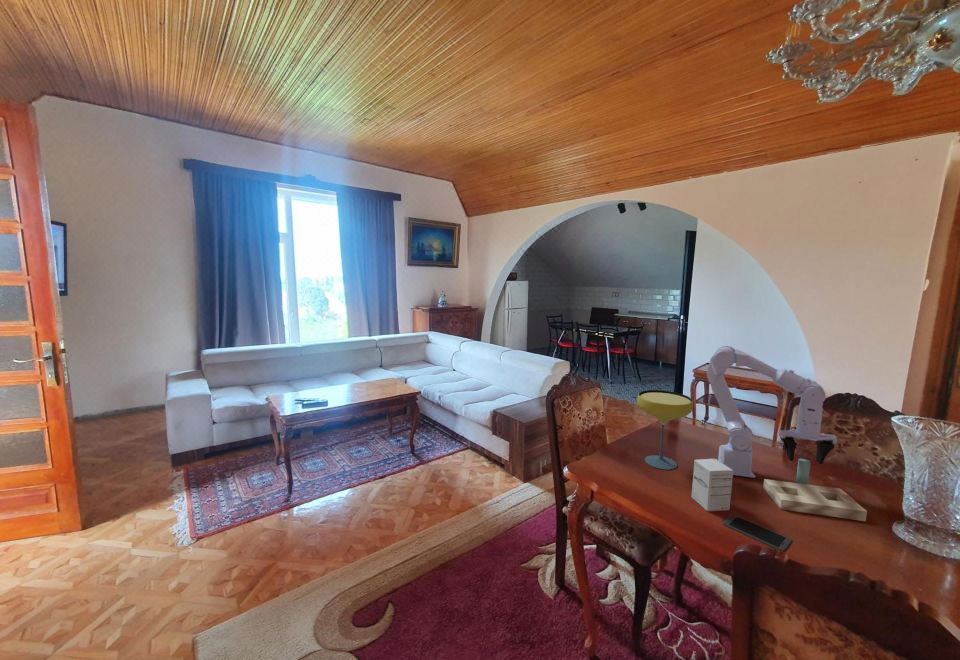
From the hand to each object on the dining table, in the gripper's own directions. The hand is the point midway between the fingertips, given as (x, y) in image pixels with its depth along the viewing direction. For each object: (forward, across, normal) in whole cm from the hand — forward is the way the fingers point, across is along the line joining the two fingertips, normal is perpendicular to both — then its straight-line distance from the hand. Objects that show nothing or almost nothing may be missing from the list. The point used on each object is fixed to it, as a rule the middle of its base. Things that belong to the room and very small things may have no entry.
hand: (804, 461), depth 122 cm
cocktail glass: (+9, -41, +5) cm, 42 cm away
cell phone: (+10, -23, -30) cm, 39 cm away
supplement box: (+9, -31, -19) cm, 37 cm away
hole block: (+9, -2, -10) cm, 14 cm away
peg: (+9, 0, 0) cm, 9 cm away
